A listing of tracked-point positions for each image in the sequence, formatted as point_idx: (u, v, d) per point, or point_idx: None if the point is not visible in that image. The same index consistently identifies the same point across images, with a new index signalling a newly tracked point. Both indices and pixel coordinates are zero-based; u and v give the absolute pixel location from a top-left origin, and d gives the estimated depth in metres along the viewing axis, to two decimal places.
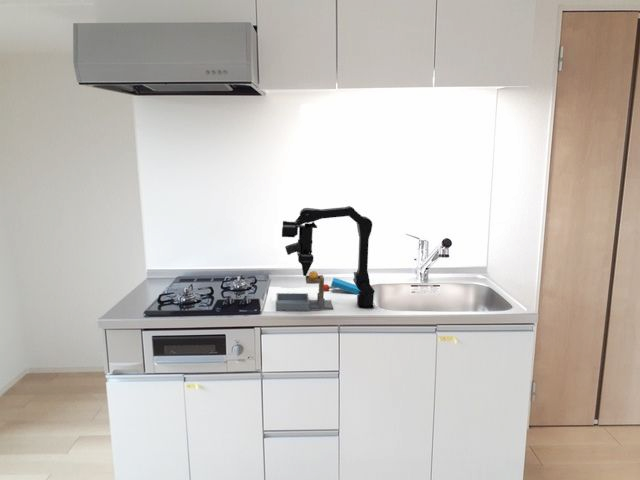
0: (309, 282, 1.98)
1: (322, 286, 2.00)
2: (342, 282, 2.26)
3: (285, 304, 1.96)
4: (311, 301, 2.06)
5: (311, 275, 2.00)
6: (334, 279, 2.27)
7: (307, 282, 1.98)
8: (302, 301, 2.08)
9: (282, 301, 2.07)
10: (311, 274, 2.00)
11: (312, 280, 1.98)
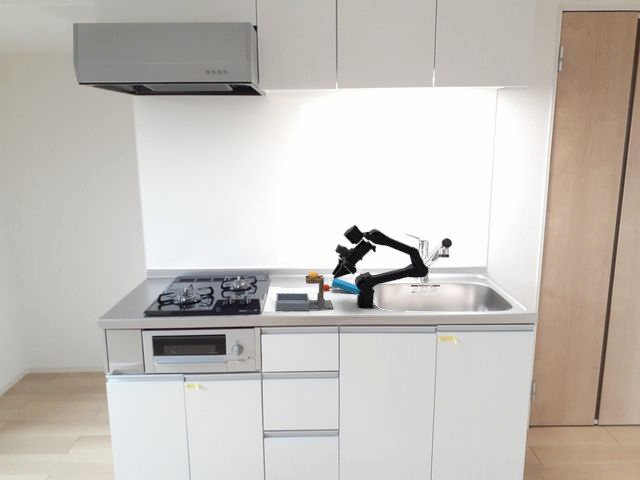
0: (309, 282, 1.98)
1: (322, 286, 2.00)
2: (342, 282, 2.26)
3: (285, 304, 1.96)
4: (311, 301, 2.06)
5: (311, 275, 2.00)
6: (334, 279, 2.27)
7: (307, 282, 1.98)
8: (302, 301, 2.08)
9: (282, 301, 2.07)
10: (311, 274, 2.00)
11: (312, 280, 1.98)
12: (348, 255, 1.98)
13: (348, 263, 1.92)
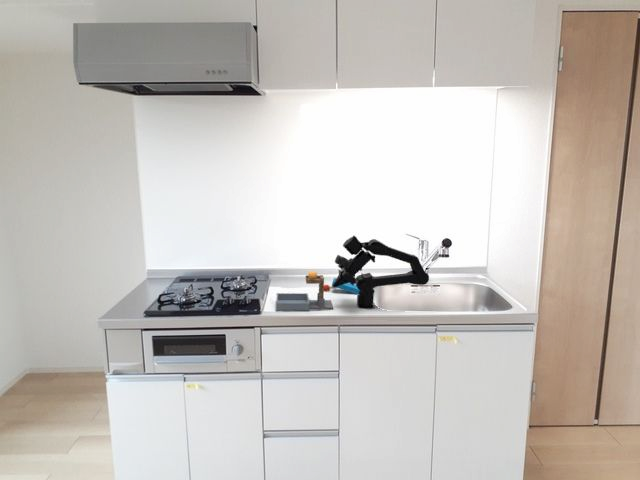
0: (309, 282, 1.98)
1: (322, 286, 2.00)
2: None
3: (285, 304, 1.96)
4: (311, 301, 2.06)
5: (310, 275, 2.00)
6: (335, 279, 2.26)
7: (307, 282, 1.98)
8: (302, 301, 2.08)
9: (282, 301, 2.07)
10: (310, 274, 2.00)
11: (312, 280, 1.98)
12: (347, 266, 1.99)
13: (347, 274, 1.93)
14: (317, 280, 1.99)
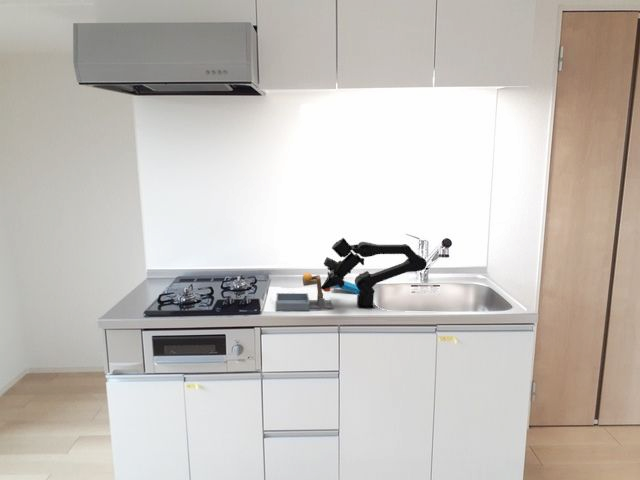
0: (306, 284, 1.99)
1: (320, 286, 2.00)
2: None
3: (285, 304, 1.96)
4: (311, 301, 2.06)
5: (305, 278, 2.00)
6: None
7: (304, 284, 1.98)
8: (302, 301, 2.08)
9: (282, 301, 2.07)
10: (304, 277, 2.00)
11: (309, 282, 1.98)
12: (336, 268, 1.99)
13: (336, 276, 1.93)
14: (314, 281, 1.99)
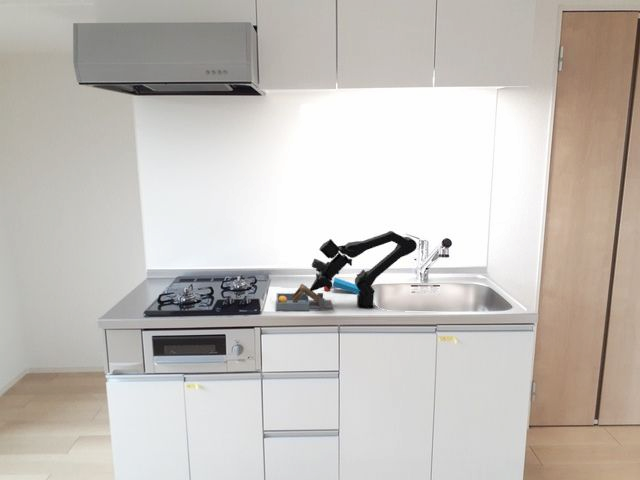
0: (296, 300, 2.00)
1: (308, 292, 2.00)
2: (343, 282, 2.26)
3: (285, 304, 1.96)
4: (311, 301, 2.06)
5: (284, 299, 2.01)
6: (335, 279, 2.27)
7: (295, 302, 2.00)
8: (302, 301, 2.08)
9: None
10: (284, 299, 2.01)
11: (296, 297, 1.99)
12: (324, 269, 1.99)
13: (323, 278, 1.93)
14: (299, 293, 1.99)
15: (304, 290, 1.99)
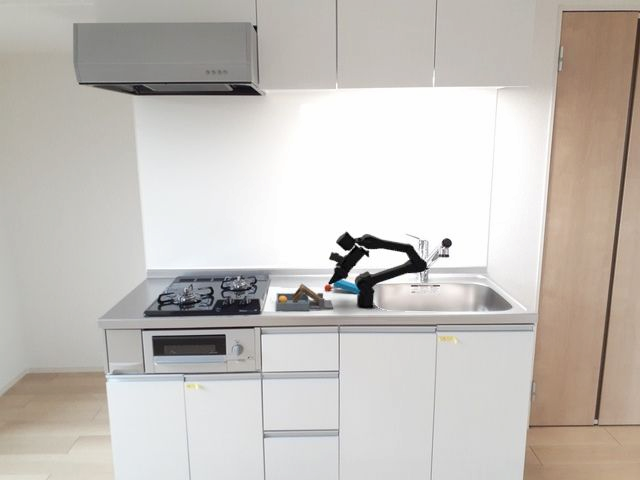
0: (296, 301, 2.00)
1: (308, 292, 2.00)
2: (344, 282, 2.26)
3: (285, 304, 1.96)
4: (311, 301, 2.06)
5: (284, 299, 2.01)
6: None
7: (295, 302, 2.00)
8: (302, 301, 2.08)
9: None
10: (285, 299, 2.01)
11: (296, 297, 1.99)
12: (341, 261, 1.99)
13: (339, 268, 1.93)
14: (299, 293, 1.99)
15: (304, 290, 1.99)
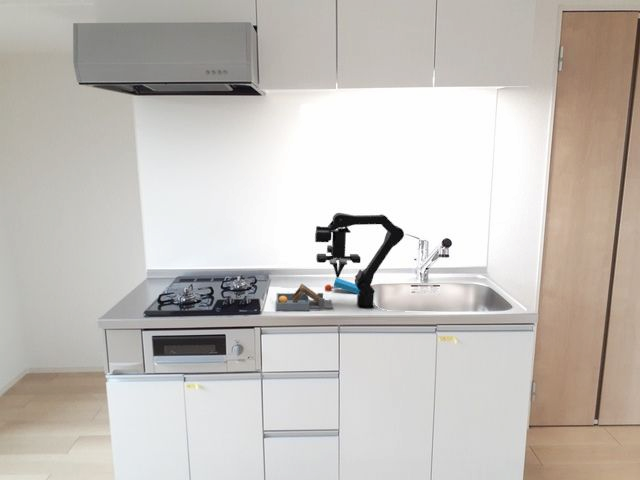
0: (296, 301, 2.00)
1: (308, 292, 2.00)
2: (344, 282, 2.26)
3: (285, 304, 1.96)
4: (311, 301, 2.06)
5: (284, 299, 2.01)
6: (336, 279, 2.27)
7: (295, 302, 2.00)
8: (302, 301, 2.08)
9: None
10: (285, 299, 2.01)
11: (296, 297, 1.99)
12: (331, 250, 2.03)
13: None
14: (299, 293, 1.99)
15: (304, 290, 1.99)
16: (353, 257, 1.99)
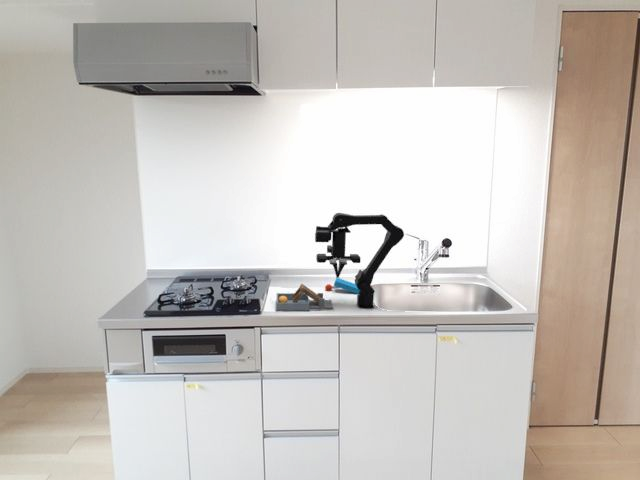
0: (296, 301, 2.00)
1: (308, 292, 2.00)
2: (345, 282, 2.26)
3: (285, 304, 1.96)
4: (311, 301, 2.06)
5: (284, 299, 2.01)
6: (337, 279, 2.27)
7: (295, 302, 2.00)
8: (302, 301, 2.08)
9: None
10: (285, 299, 2.01)
11: (296, 297, 1.99)
12: (331, 250, 2.03)
13: None
14: (299, 293, 1.99)
15: (304, 290, 1.99)
16: (353, 257, 1.99)
